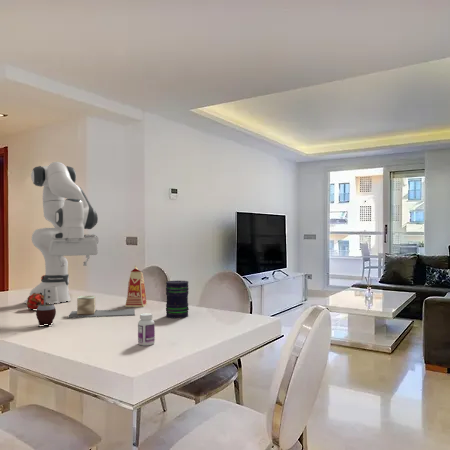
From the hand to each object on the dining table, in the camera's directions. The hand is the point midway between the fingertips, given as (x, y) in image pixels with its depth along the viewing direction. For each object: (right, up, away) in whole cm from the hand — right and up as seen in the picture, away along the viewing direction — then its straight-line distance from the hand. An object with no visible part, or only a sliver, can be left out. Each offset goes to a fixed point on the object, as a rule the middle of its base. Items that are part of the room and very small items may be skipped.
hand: (73, 266), depth 186 cm
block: (+5, -21, +2) cm, 22 cm away
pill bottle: (+41, -21, -49) cm, 67 cm away
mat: (+12, -22, +3) cm, 25 cm away
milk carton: (+22, -22, +25) cm, 40 cm away
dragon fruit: (-22, -22, +13) cm, 34 cm away
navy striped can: (+46, -22, -2) cm, 51 cm away
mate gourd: (-3, -21, -22) cm, 31 cm away
